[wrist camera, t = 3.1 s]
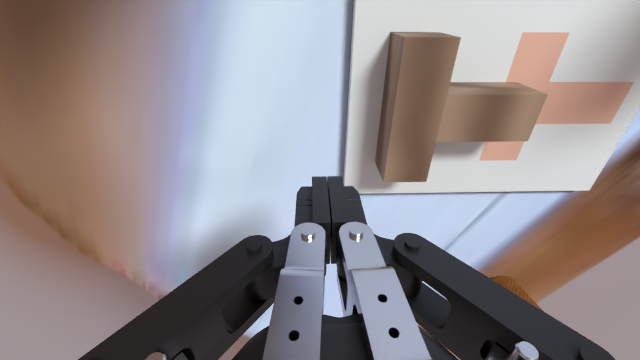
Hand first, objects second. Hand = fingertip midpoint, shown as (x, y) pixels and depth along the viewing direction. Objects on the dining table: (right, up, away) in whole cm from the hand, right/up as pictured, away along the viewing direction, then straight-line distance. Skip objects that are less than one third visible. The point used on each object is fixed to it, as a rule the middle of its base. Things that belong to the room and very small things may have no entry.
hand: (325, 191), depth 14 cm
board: (+16, +8, +14) cm, 23 cm away
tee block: (+11, +8, +12) cm, 18 cm away
